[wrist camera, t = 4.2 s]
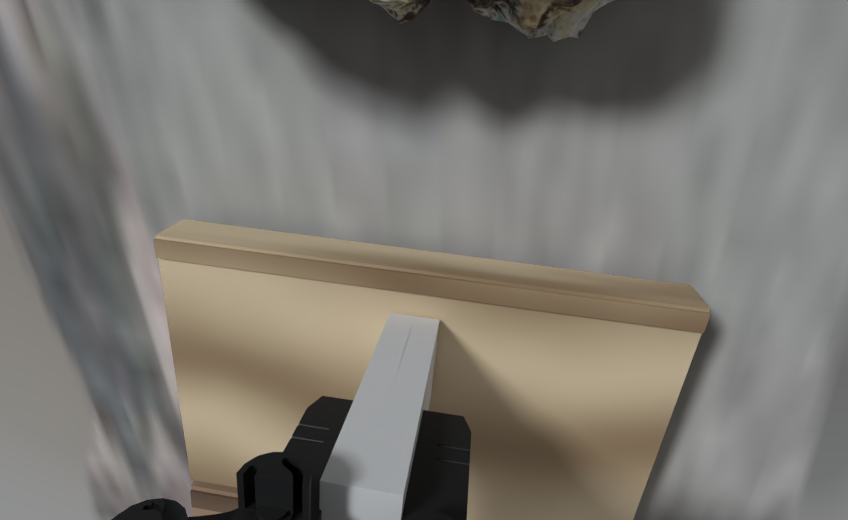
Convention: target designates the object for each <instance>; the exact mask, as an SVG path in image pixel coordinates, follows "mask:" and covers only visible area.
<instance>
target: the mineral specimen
mask: <svg viewBox="0 0 848 520" xmlns="http://www.w3.org/2000/svg"><path fill="white" fill-rule="evenodd" d="M612 1H614V0H468V2H469V4H470V5H471V7H472V9H473V10H474V12H476V13H478V14H480V15H482V16H485V17H487V18H489V19H491V20H496V21H502V22H507V23H510V24H511V25H512V26H513V27H515V28H516V29H517V30H518V31H520V32H521V33H522V34H523V35H525V36H526V37H528V38H529V39H532V38H536V37H541V36H545V35H547V36H548V37H549V38H550V39H551V40H552V41H553V42H555V41H558V40H561V39H564V38H567V37H574V38H579V36H580V34H581V33H582V31H583V29H584V27H585V26H586V24H587V22H588V21H589V19H590V17H591V15H592V14H593V12H594V11H596V10H597V9H599V8H601V7H602V6H604V5H606V4H607V3H610V2H612ZM370 2H373V3H375V4H378V5H380V6H381V7H383V8H384V9H385V10H386V11H387V12H388V13H389V14H390V16H391V17H393V18H394V19H395V20H397V21H398V22H400V23H401V24H402V23H404V22H407V21H409V20H412V19H414V18H415V17H416V16H417V15H418V14H419V13H420V12H421V11H422V10H423V9H424V8H425V7H426V6H427V5H428V3H429V2H430V0H370Z"/></svg>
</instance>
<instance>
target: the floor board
mask: <svg viewBox="0 0 848 520" xmlns="http://www.w3.org/2000/svg"><path fill="white" fill-rule="evenodd" d="M191 502H192V507H194V515H195V516H204V515H213V514H220V513H224V512H229V511H232V510H234V509H237V508H238V493H237V488H236V487H230V486H224V485H219V484H213V483H207V482H202V481H196V480H195V481H194V483H193V484H192V490H191Z"/></svg>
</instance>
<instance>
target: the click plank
mask: <svg viewBox="0 0 848 520" xmlns="http://www.w3.org/2000/svg"><path fill="white" fill-rule="evenodd" d="M154 247H155V254H156V258H158V259H159V266H160V273H161V279H162V286H163V293H164V300H165V307H166V313H167V320H168V327H169V334H170V341H171V348H172V354H173V361H174V368H175V375H176V382H177V388H178V395H179V402H180V409H181V416H182V422H183V429H184V436H185V443H186V450H187V457H188V463H189V470H190V477H191V480H196V481H202V482H207V483H213V484H219V485H224V486H230V487H236V488H237V477H236V473H237V472H238V471H239V469H240V468H241V467H242V466H243V465H244V464H245V463H246V462H248V461H250V460H251V459H253V458H255V457H257V456H259V455H262V454H266V453H270V452H283V451H284V449H285V447H286V446H287V444H288V442H289V440H290V438H292V435H293V433H294V431H295V429H296V427H297V426H298V425H299V422H300V420H301V418H302V416H303V414H304V413H305V411H306V409H307V407H309V406H310V405H311V404H312V403H314V402H315V401H316V400H318V399H319V398H320V397H321V396H328V397H335V398H341V399H347V400H354V398H355V396H356V393H357V391H358V388H359V386H360V384H361V381H362V379H363V376H364V374H365V372H366V369H367V367H368V365H369V362H370V360H371V357H372V355H373V353H374V350H375V348H376V345H377V343H378V341H379V338H380V336H381V333H382V331H383V329H384V326H385V324H386V321H387V319H388V317H389V314H390V313H396V314H403V315H410V316H417V317H424V318H431V319H438V320H439V329H438V338H437V346H436V355H435V364H434V373H433V381H432V390H431V398H430V403H429V409H428V411H433V412H440V413H446V414H452V415H459V416H464V418H465V420H466V422H467V424H468V426H469V428H470V430H471V448H470V464H469V466H470V467H469V486H468V504H467V520H633V519H634V516H635V513H636V511H637V508H638V505H639V503H640V500H641V497H642V494H643V492H644V489H645V486H646V484H647V481H648V478H649V475H650V473H651V470H652V467H653V464H654V462H655V459H656V456H657V454H658V451H659V448H660V445H661V443H662V440H663V437H664V435H665V432H666V429H667V426H668V424H669V421H670V418H671V416H672V413H673V410H674V407H675V405H676V402H677V399H678V397H679V394H680V391H681V388H682V386H683V383H684V380H685V378H686V375H687V372H688V369H689V367H690V364H691V361H692V358H693V356H694V353H695V350H696V348H697V345H698V342H699V339H700V337H701V334H702V333H704V332H705V329H706V326H707V323H708V321H709V318H710V315H711V314H710V313H709V312H710V310H711V309H710V308H709V307H708V306H707V304H706V303H705V302H704V301H703V299H702V298H701V297H700V296H699V295H698V293H697V292H696V291H695V290H694V288H693V287H692V286H691V285H687V284H679V283H671V282H664V281H656V280H648V279H641V278H633V277H625V276H617V275H610V274H602V273H594V272H587V271H579V270H571V269H563V268H556V267H548V266H540V265H533V264H525V263H517V262H509V261H502V260H494V259H486V258H478V257H471V256H463V255H455V254H448V253H440V252H432V251H424V250H417V249H409V248H401V247H394V246H386V245H378V244H370V243H363V242H355V241H347V240H340V239H332V238H324V237H316V236H309V235H301V234H293V233H285V232H278V231H270V230H262V229H255V228H247V227H239V226H231V225H224V224H216V223H208V222H201V221H193V220H185V219H183V220H182V221H180V222H178V223H176V224H174V225H173V226H171V227H169V228H167V229H166V230H164V231H162V232H160V233H158V234H157V235H155V239H154Z"/></svg>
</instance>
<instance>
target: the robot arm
mask: <svg viewBox="0 0 848 520" xmlns="http://www.w3.org/2000/svg"><path fill="white" fill-rule="evenodd" d="M438 329H439V320H438V319H431V318H424V317H417V316H410V315H403V314H396V313H390V314H389V317H388V319H387V321H386V324H385V326H384V329H383V331H382V333H381V336H380V338H379V341H378V343H377V345H376V348H375V350H374V353H373V355H372V357H371V360H370V362H369V365H368V367H367V369H366V372H365V374H364V376H363V379H362V381H361V384H360V386H359V388H358V391H357V393H356V396H355V398H354V400H347V399H341V398H335V397H328V396H321V397H320V398H319V399H318V400H316V401H315V402H314V403H312V404H311V405H310V406H309V407H307V409H306V411H305V413H304V414H303V416H302V418H301V420H300V422H299V425H298V426H297V427H296V429H295V431H294V433H293V435H292V438H290V440H289V442H288V444H287V446H286V447H285V449H284V451H283V452H270V453H266V454H262V455H259V456H257V457H255V458H253V459H251V460H250V461H248V462H246V463H245V464H244V465H243V466H242V467H241V468H240V469H239V471H238V472H237V473H236V477H237V493H238V508H237V509H234V510H232V511H229V512H224V513H220V514H213V515H204V516H195V517H187V514H186V511H185V508H184V507H183V506H181V505H180V504H179V503H178V502H177V501H173V500H169V499H164V498H161V499H151V500H146V501H143V502H141V503H138V504H135V505H132V506H130V507H129V508H127V509H126V510H124V511H123V512H121V513H120V514H118V515H117V516H116V517H114V518H113V519H112V520H467V504H468V486H469V467H470V466H469V464H470V448H471V430H470V428H469V426H468V424H467V422H466V420H465V418H464V416H459V415H452V414H446V413H440V412H433V411H428V409H429V403H430V398H431V390H432V381H433V373H434V364H435V355H436V346H437V338H438Z"/></svg>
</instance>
